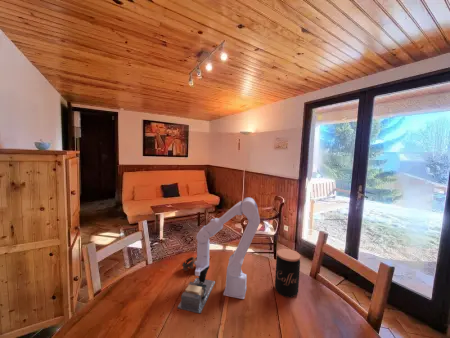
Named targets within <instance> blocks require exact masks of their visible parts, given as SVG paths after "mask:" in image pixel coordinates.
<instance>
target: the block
mask: <svg viewBox="0 0 450 338" xmlns="http://www.w3.org/2000/svg"><path fill="white" fill-rule="evenodd" d="M188 284H189V283H188ZM188 284H187V287H186V288H185V290H184V292H187V293H192V294H197V295H201V298H202V287H200V286H195V285H190V284H189V285H188Z"/></svg>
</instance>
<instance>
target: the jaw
mask: <svg viewBox="0 0 450 338" xmlns="http://www.w3.org/2000/svg"><path fill="white" fill-rule="evenodd" d="M189 284H190V285H195V286H200V287H202V298H205V296H206V289H207V285H204V284H203V282H202V281H200V282H199V283H194V281H193V282H192V281H189V283H188V284H187V286H188V285H189Z"/></svg>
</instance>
